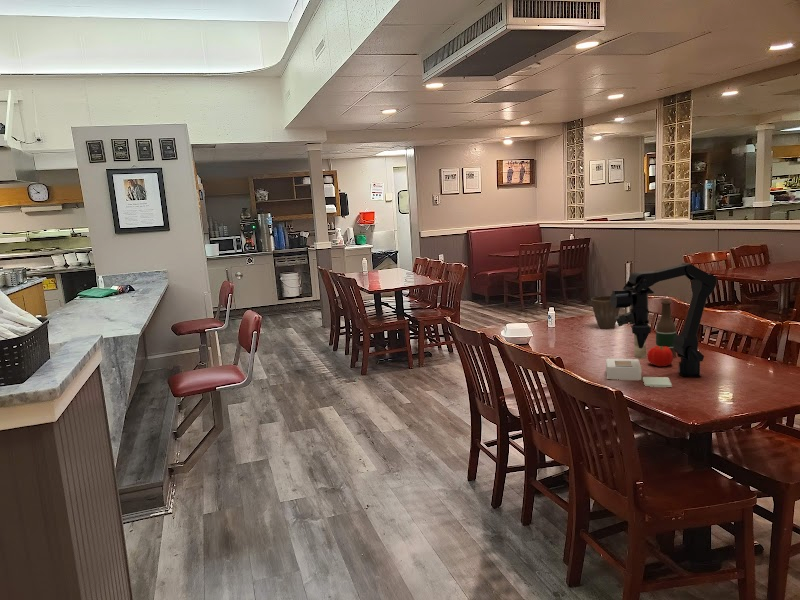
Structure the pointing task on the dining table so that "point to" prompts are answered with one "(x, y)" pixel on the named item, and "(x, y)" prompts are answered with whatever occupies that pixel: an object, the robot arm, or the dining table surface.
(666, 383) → the rest pad
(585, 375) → the dining table surface
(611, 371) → the box
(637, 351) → the tan cylinder
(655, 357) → the tomato
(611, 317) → the plant pot
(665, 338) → the beer bottle
